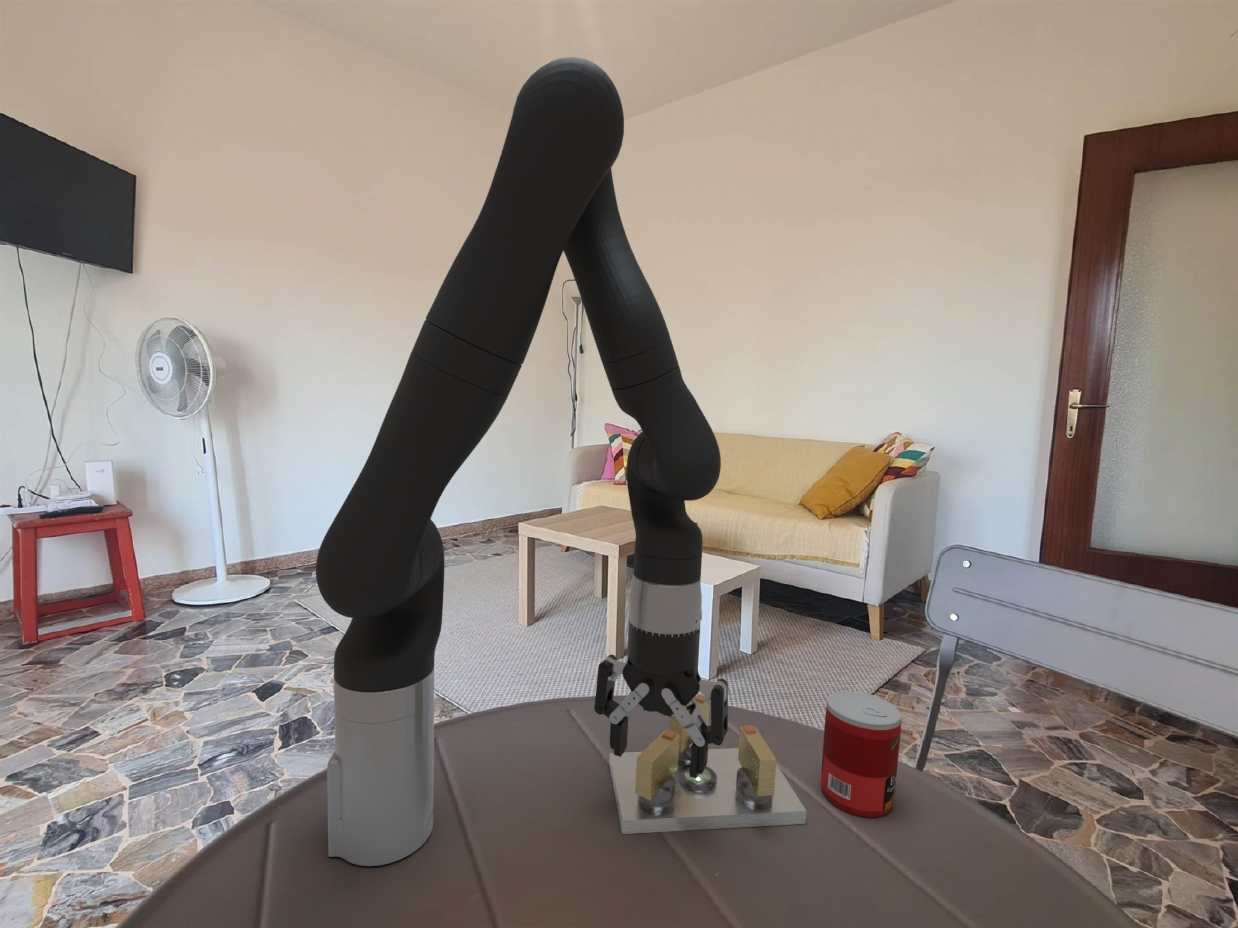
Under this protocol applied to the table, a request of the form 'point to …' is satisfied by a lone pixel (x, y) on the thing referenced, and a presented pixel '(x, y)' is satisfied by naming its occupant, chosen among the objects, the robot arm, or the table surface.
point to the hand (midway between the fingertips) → (657, 762)
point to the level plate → (701, 798)
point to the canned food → (860, 753)
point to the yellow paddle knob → (684, 736)
